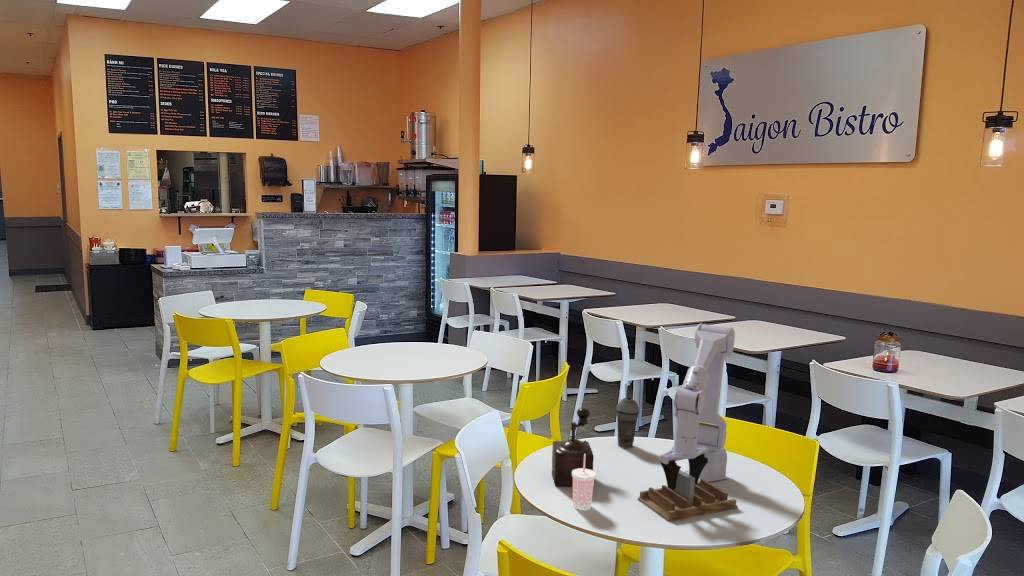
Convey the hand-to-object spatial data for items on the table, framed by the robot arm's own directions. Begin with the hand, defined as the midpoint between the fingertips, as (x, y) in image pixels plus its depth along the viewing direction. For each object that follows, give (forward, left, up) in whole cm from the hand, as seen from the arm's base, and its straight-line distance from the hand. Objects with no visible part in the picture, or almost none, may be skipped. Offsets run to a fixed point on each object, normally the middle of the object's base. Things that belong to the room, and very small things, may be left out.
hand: (682, 485), depth 185 cm
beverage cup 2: (-10, -41, -6) cm, 43 cm away
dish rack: (-2, 0, -5) cm, 6 cm away
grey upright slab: (0, 0, -5) cm, 5 cm away
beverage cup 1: (+25, -8, -6) cm, 27 cm away
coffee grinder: (+18, -26, -6) cm, 32 cm away
